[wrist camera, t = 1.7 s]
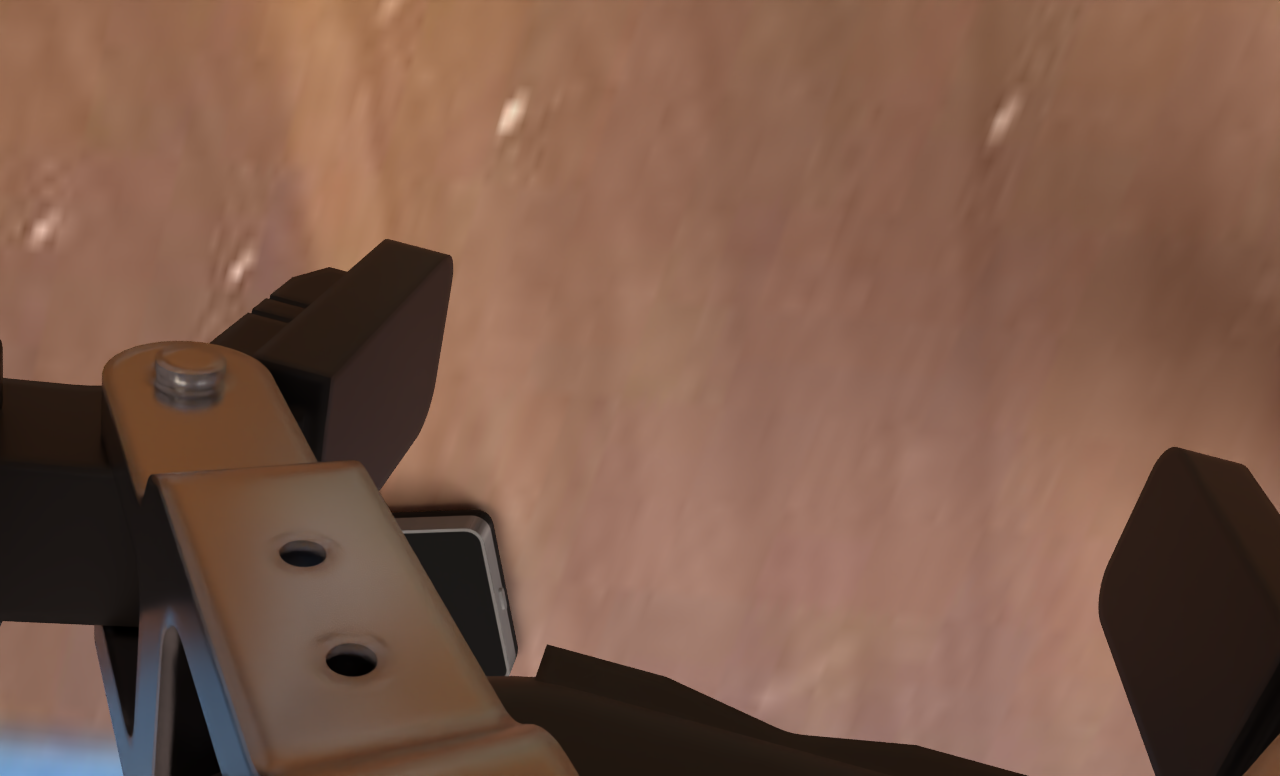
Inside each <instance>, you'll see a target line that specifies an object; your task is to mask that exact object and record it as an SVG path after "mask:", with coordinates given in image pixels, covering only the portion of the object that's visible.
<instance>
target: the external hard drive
mask: <svg viewBox="0 0 1280 776" xmlns="http://www.w3.org/2000/svg"><path fill="white" fill-rule="evenodd" d="M392 515H393V517H394V518H395V520H396V522H397V523H398V525H399V527H400V529H401V530H402V532H403V534H404V536H405V537H406V539H407V541H408V542H409V544H410V546H411V548H412V549H413V551H414V553H415V555H416V556H417V558H418V560H419V561H420V563H421V565H422V567H423V568H424V570H425V572H426V574H427V575H428V577H429V579H430V580H431V582H432V584H433V586H434V587H435V589H436V591H437V593H438V594H439V596H440V598H441V599H442V601H443V603H444V605H445V606H446V608H447V610H448V611H449V613H450V615H451V617H452V618H453V620H454V622H455V624H456V625H457V627H458V629H459V630H460V632H461V634H462V636H463V637H464V639H465V641H466V643H467V644H468V646H469V648H470V649H471V651H472V653H473V655H474V656H475V658H476V660H477V662H478V663H479V665H480V667H481V668H482V670H483V672H484V674H485V675H486V676H509V675H510V672H511V670H512V667H513V664H514V662H515V659H516V657H517V653H518V646H517V641H516V636H515V631H514V626H513V621H512V616H511V611H510V606H509V601H508V596H507V590H506V585H505V580H504V575H503V570H502V565H501V560H500V555H499V550H498V545H497V540H496V535H495V530H494V525H493V522H492V519H491V517H490V516H489V515H488V514H487V513H486V512H484V511H481V510H452V511H426V512H399V513H392Z"/></svg>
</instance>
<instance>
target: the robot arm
mask: <svg viewBox="0 0 1280 776" xmlns="http://www.w3.org/2000/svg"><path fill="white" fill-rule="evenodd" d="M452 277H453V260H452V257H451V256H450V255H447V254H443V253H439V252H436V251H432V250H428V249H424V248H420V247H417V246H413V245H409V244H405V243H401V242H397V241H394V240H390V239H385V240H384V241H382V242H381V243H380V244H379V245H378V246H377V247H375V248H374V249H373V250H372V251H371V252H370V253H369V254H367V255H366V256H365V257H364V258H363V259H362V260H360V261H359V262H358V263H357V264H356V265H355V266H354V267H352V268H351V269H350V270H349V271H348V272H346V271H342V270H338V269H335V268H331V267H328V268H325V269H321V270H317V271H314V272H310V273H307V274H303V275H299V276H296V277H292V278H291V279H290V280H289V281H287V282H286V283H285V284H283V285H282V286H281V287H280V288H278V289H277V290H276V291H275V292H273V293H272V294H271V295H270V299H267V298H266V299H265V300H263V301H262V302H261V303H260V304H258V305H257V306H256V307H254V308H253V310H252V313H247V314H246V315H244V316H243V317H242V318H241V319H239V320H238V321H237V322H236V323H234V324H233V325H232V326H230V327H229V328H228V329H227V330H225V331H224V332H223V333H222V334H220V335H219V336H218V337H217V338H215V339H214V340H213V341H212V342H210V343H203V342H192V341H167V342H156V343H149V344H144V345H140V346H136V347H133V348H130V349H127V350H124V351H123V352H121V353H119V354H117V355H115V356H114V357H113V358H111V359H110V360H109V361H108V362H107V363H106V365H105V366H104V369H103V372H102V386H86V385H71V384H60V383H50V382H39V381H29V380H18V379H8V378H3V347H2V342H1V340H0V626H1V623H2V621H15V622H37V623H60V624H82V625H94V638H95V646H96V650H97V655H98V660H99V664H100V669H101V673H102V678H103V683H104V687H105V692H106V697H107V701H108V706H109V710H110V715H111V720H112V724H113V729H114V734H115V738H116V743H117V748H118V752H119V757H120V761H121V766H122V771H123V776H1027V775H1023V774H1019V773H1016V772H1012V771H1008V770H1005V769H1001V768H997V767H994V766H990V765H986V764H983V763H979V762H975V761H972V760H968V759H964V758H961V757H957V756H954V755H950V754H946V753H943V752H939V751H935V750H932V749H928V748H924V747H921V746H917V745H908V744H897V743H886V742H875V741H864V740H853V739H842V738H830V737H819V736H808V735H800V734H794V733H790V732H786V731H783V730H781V729H778V728H776V727H774V726H772V725H769V724H767V723H765V722H763V721H761V720H759V719H756V718H754V717H752V716H750V715H748V714H746V713H743V712H741V711H739V710H737V709H735V708H733V707H730V706H728V705H726V704H724V703H722V702H719V701H717V700H715V699H713V698H711V697H709V696H706V695H704V694H702V693H700V692H698V691H696V690H693V689H691V688H689V687H687V686H685V685H683V684H680V683H678V682H676V681H674V680H672V679H670V678H667V677H664V676H661V675H657V674H653V673H650V672H646V671H642V670H639V669H635V668H631V667H628V666H624V665H620V664H617V663H613V662H610V661H606V660H602V659H599V658H595V657H591V656H588V655H584V654H580V653H577V652H573V651H569V650H566V649H562V648H558V647H555V646H551V645H547V646H546V649H545V652H544V655H543V658H542V661H541V663H540V666H539V669H538V672H537V675H536V677H521V676H486V675H485V674H484V672H483V670H482V668H481V667H480V665H479V663H478V662H477V660H476V658H475V656H474V655H473V653H472V651H471V649H470V648H469V646H468V644H467V643H466V641H465V639H464V637H463V636H462V634H461V632H460V630H459V629H458V627H457V625H456V624H455V622H454V620H453V618H452V617H451V615H450V613H449V611H448V610H447V608H446V606H445V605H444V603H443V601H442V599H441V598H440V596H439V594H438V593H437V591H436V589H435V587H434V586H433V584H432V582H431V580H430V579H429V577H428V575H427V574H426V572H425V570H424V568H423V567H422V565H421V563H420V561H419V560H418V558H417V556H416V555H415V553H414V551H413V549H412V548H411V546H410V544H409V542H408V541H407V539H406V537H405V536H404V534H403V532H402V530H401V529H400V527H399V525H398V523H397V522H396V520H395V518H394V517H393V515H392V513H391V511H390V510H389V508H388V506H387V505H386V503H385V501H384V499H383V498H382V496H381V494H380V492H379V491H380V489H381V488H382V486H383V485H384V484H385V482H386V481H387V479H388V478H389V476H390V475H391V474H392V472H393V471H394V469H395V468H396V466H397V465H398V464H399V462H400V461H401V459H402V458H403V456H404V455H405V454H406V452H407V451H408V449H409V448H410V446H411V445H412V444H413V442H414V441H415V439H416V438H417V436H418V435H419V433H420V431H421V429H422V426H423V424H424V422H425V419H426V416H427V413H428V411H429V407H430V404H431V400H432V396H433V392H434V388H435V382H436V376H437V370H438V364H439V358H440V352H441V346H442V340H443V334H444V328H445V321H446V315H447V309H448V303H449V297H450V291H451V285H452ZM1099 618H1100V622H1101V625H1102V628H1103V631H1104V634H1105V637H1106V639H1107V642H1108V645H1109V648H1110V650H1111V653H1112V656H1113V659H1114V662H1115V664H1116V667H1117V670H1118V673H1119V675H1120V678H1121V681H1122V684H1123V687H1124V689H1125V692H1126V695H1127V698H1128V700H1129V703H1130V706H1131V709H1132V712H1133V714H1134V717H1135V720H1136V723H1137V726H1138V728H1139V731H1140V734H1141V737H1142V739H1143V742H1144V745H1145V748H1146V751H1147V753H1148V756H1149V759H1150V762H1151V764H1152V767H1153V770H1154V773H1155V776H1280V514H1279V513H1278V511H1277V510H1276V509H1275V507H1274V506H1273V504H1272V503H1271V501H1270V500H1269V498H1268V497H1267V495H1266V494H1265V493H1264V491H1263V490H1262V488H1261V487H1260V485H1259V484H1258V482H1257V481H1256V480H1255V478H1254V477H1253V475H1252V474H1251V472H1250V471H1249V469H1248V468H1247V467H1246V466H1244V465H1242V464H1239V463H1235V462H1232V461H1228V460H1224V459H1220V458H1216V457H1213V456H1209V455H1205V454H1201V453H1197V452H1193V451H1190V450H1186V449H1182V448H1178V447H1172V448H1169V449H1168V450H1166V451H1165V452H1164V453H1163V454H1162V455H1161V456H1160V457H1159V459H1158V460H1157V462H1156V463H1155V465H1154V467H1153V469H1152V471H1151V473H1150V475H1149V477H1148V479H1147V481H1146V484H1145V486H1144V488H1143V490H1142V492H1141V494H1140V496H1139V498H1138V501H1137V503H1136V505H1135V507H1134V509H1133V511H1132V513H1131V516H1130V518H1129V520H1128V522H1127V524H1126V526H1125V528H1124V531H1123V533H1122V535H1121V537H1120V539H1119V541H1118V543H1117V545H1116V548H1115V550H1114V552H1113V554H1112V556H1111V558H1110V560H1109V563H1108V565H1107V567H1106V570H1105V573H1104V576H1103V579H1102V583H1101V588H1100V594H1099Z"/></svg>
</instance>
